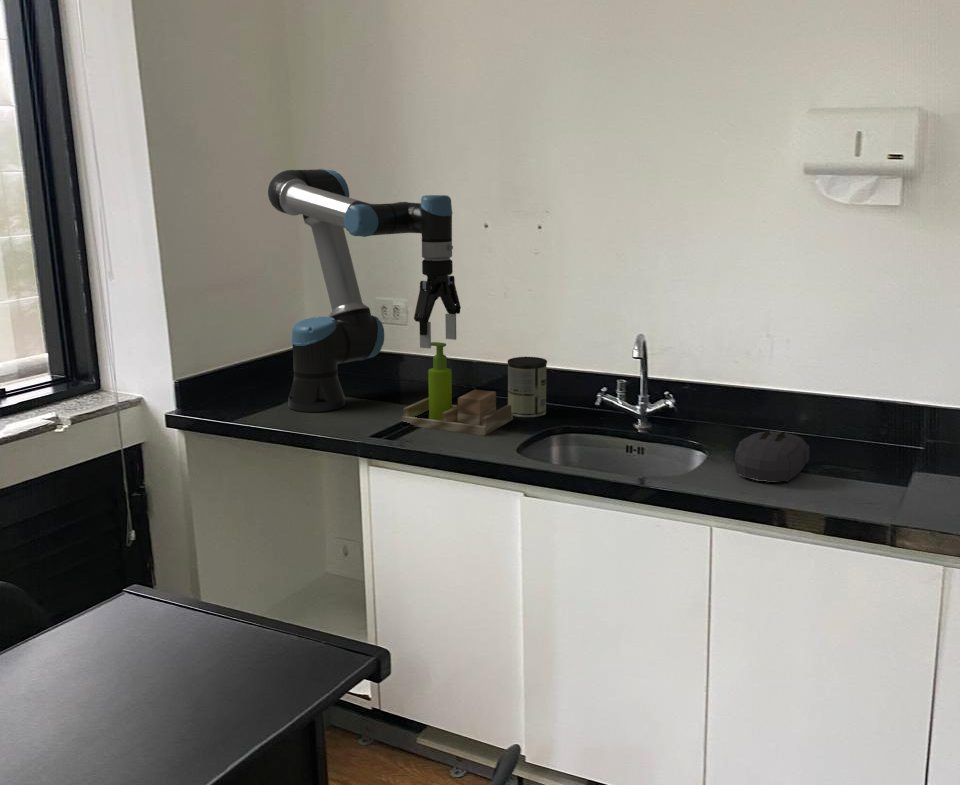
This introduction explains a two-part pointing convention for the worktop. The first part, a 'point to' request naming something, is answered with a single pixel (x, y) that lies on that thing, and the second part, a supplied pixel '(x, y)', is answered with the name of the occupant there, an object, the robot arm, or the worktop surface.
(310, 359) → the robot arm
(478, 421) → the lower offcut
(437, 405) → the soap dispenser
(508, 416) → the rack
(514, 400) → the coffee can
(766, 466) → the slotted dark dome
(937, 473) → the worktop surface
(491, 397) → the upper offcut
